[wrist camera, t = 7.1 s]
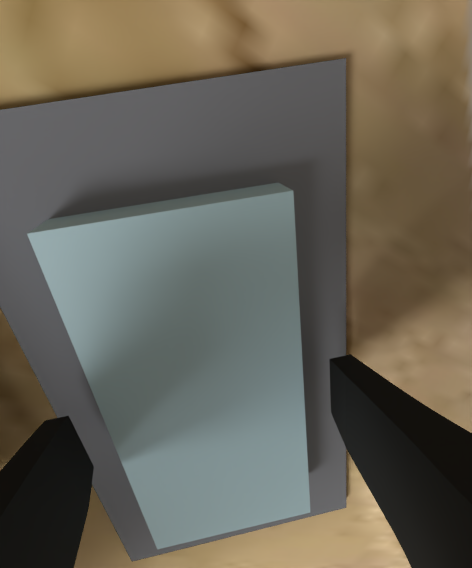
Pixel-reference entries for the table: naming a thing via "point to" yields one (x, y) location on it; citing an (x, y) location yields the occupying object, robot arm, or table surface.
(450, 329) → the table surface
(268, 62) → the table surface
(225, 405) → the lid
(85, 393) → the mat
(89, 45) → the table surface
